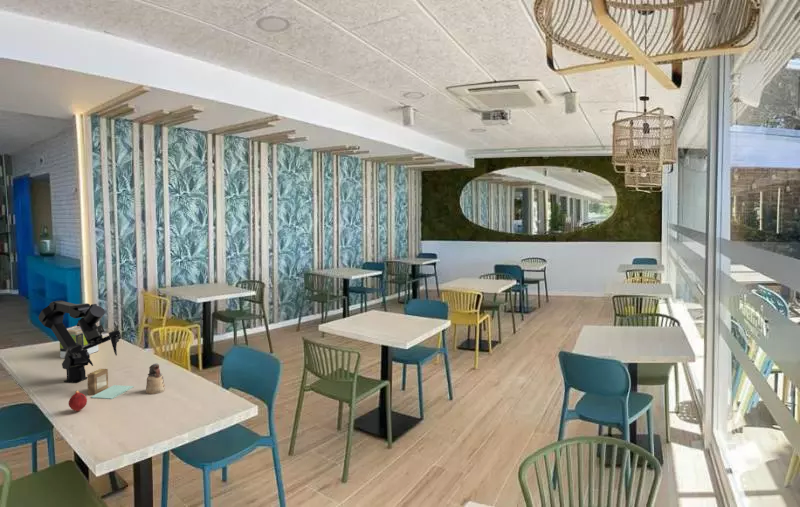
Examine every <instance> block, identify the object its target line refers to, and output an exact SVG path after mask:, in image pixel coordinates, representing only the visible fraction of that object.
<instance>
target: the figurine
mask: <svg viewBox="0 0 800 507" xmlns="http://www.w3.org/2000/svg"><path fill="white" fill-rule="evenodd" d="M148 369H149V373H148V374H147V378H146V387H145V392H146V394H148V395H149V394H150V395H155V394H161V393H163V392H165V390H166V385H165V379H164V375H163V373H161V369H160V365H159V364H158V363H153V364H151V365H150V366H149V367H148Z"/></svg>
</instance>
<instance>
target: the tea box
mask: <svg viewBox="0 0 800 507" xmlns="http://www.w3.org/2000/svg"><path fill="white" fill-rule="evenodd" d="M66 329H67V330H68V332H69V333H70V335H71V336H72V338H73V339H74V341H75V342H76V344H77V345H82V344H83V345H87V344H88V343H87V340H86V338H85V336H84V334H83V332H82V330H81V328H80V326H78V327H77V325H74V326H70V327H66ZM87 350H88V351H87V352H88V353H89V355H92V354H93V353H96V352H99V345H96V346H94V347H92V348H89V349H87ZM65 353H66V351H65V350H64V348H63V347H62V345H61V343H60V342H59V355H60V356H59V357H60V358H61V359H65Z"/></svg>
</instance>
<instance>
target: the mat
mask: <svg viewBox="0 0 800 507" xmlns="http://www.w3.org/2000/svg"><path fill="white" fill-rule="evenodd" d="M133 388H134V385H122V384H121V385H120V384H119V385H118V384H112V386H110V387H109V386H108V388H107V389H105V390H103V391H101V392H99V393H97V394H95V395H91V397H90V399H101V398H102V399H103V400H104V399H105V400H113V399H115V398H116V397H118V396H120V395H122V394H123V393H125V392H127V391H130V389H133ZM102 399H101V400H102Z"/></svg>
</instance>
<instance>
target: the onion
mask: <svg viewBox="0 0 800 507" xmlns="http://www.w3.org/2000/svg"><path fill="white" fill-rule="evenodd" d="M87 402H88V398H87V396H86V395H85V394H84V393H82V392H80V391H79V390H76V391H75V392H74V394H73V395H72V396H71V397H70V398H69V401H68V407H69V408H70V409H72V410H73V411H75V412H80V411H82V410H83V409H84V408H85V407H86V405H87Z"/></svg>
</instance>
